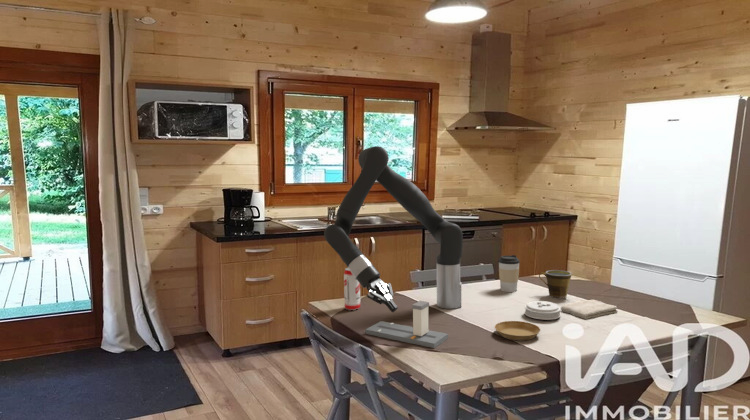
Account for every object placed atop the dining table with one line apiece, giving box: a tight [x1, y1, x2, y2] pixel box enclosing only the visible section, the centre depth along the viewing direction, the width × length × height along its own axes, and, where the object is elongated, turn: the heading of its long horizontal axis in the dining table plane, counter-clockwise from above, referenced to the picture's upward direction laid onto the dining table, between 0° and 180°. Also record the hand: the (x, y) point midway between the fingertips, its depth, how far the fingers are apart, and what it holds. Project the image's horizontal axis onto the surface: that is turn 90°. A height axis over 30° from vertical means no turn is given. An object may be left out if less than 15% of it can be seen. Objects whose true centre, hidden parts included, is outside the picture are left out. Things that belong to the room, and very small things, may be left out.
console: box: [365, 320, 449, 349], centre depth 176 cm, size 26×10×2 cm, turn 57°
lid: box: [524, 300, 562, 321], centre depth 194 cm, size 13×13×5 cm
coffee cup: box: [497, 254, 520, 293], centre depth 229 cm, size 9×9×15 cm
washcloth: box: [560, 299, 618, 320], centre depth 198 cm, size 12×18×3 cm, turn 118°
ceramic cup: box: [538, 269, 572, 300], centre depth 219 cm, size 13×10×10 cm
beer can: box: [343, 267, 361, 311], centre depth 206 cm, size 6×6×16 cm
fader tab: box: [411, 300, 430, 336], centre depth 172 cm, size 3×5×10 cm, turn 147°
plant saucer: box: [494, 320, 541, 342], centre depth 175 cm, size 15×15×3 cm
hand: (395, 310), depth 178 cm, fingers closed
